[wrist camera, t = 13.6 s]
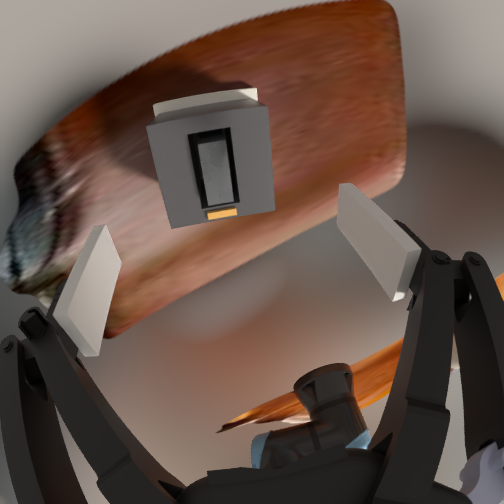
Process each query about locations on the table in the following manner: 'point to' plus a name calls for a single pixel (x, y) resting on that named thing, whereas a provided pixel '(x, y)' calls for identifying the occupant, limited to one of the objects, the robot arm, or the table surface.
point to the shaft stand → (211, 143)
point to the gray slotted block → (240, 157)
